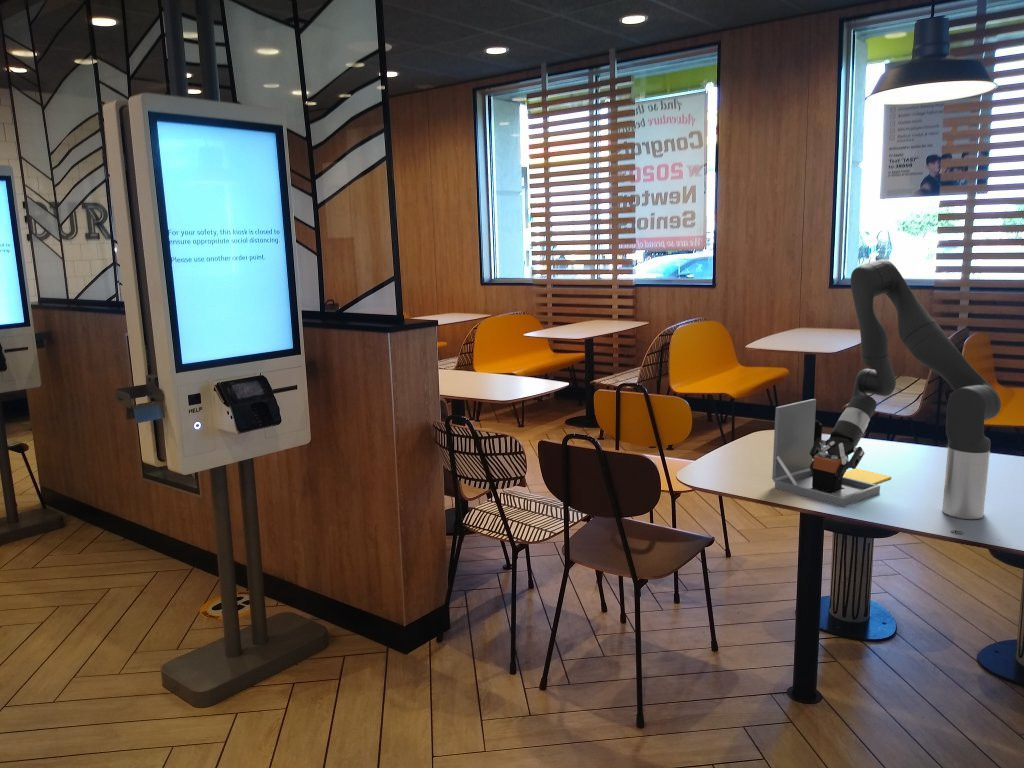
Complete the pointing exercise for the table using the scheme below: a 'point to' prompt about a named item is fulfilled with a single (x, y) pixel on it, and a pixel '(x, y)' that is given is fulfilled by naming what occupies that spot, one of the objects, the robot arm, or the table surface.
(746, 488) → the table surface
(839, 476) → the robot arm
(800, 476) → the equipment case
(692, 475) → the table surface
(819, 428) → the cpu cooler
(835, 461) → the battery
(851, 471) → the yellow sticky note
